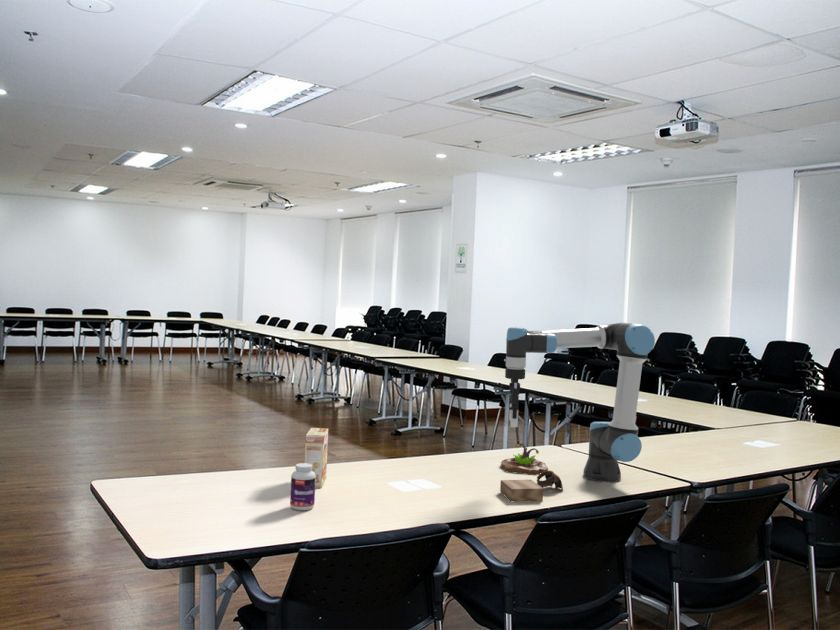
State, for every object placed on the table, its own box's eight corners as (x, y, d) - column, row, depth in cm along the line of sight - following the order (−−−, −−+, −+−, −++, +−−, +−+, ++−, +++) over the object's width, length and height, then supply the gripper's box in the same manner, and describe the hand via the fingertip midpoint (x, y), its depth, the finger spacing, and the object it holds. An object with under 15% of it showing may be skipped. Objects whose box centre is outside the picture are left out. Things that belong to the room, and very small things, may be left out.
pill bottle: (291, 512, 234) (292, 468, 234) (288, 504, 242) (290, 462, 242) (316, 511, 237) (317, 467, 236) (312, 503, 244) (314, 461, 244)
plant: (499, 462, 318) (500, 437, 317) (543, 464, 317) (544, 439, 316) (502, 474, 298) (503, 447, 297) (549, 476, 297) (550, 449, 296)
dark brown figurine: (566, 495, 270) (557, 477, 268) (543, 503, 272) (534, 486, 270) (562, 479, 282) (554, 461, 280) (540, 487, 283) (532, 470, 282)
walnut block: (530, 492, 271) (530, 479, 271) (542, 502, 259) (543, 488, 259) (500, 493, 268) (500, 480, 268) (511, 502, 256) (511, 489, 256)
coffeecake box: (322, 488, 264) (324, 435, 263) (302, 487, 264) (304, 434, 263) (327, 477, 279) (329, 427, 278) (308, 477, 278) (310, 427, 278)
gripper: (504, 364, 285) (502, 417, 285) (506, 371, 260) (504, 429, 261) (523, 365, 284) (521, 418, 285) (527, 372, 259) (524, 430, 260)
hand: (513, 423), depth 273 cm, fingers open, 13 cm apart
